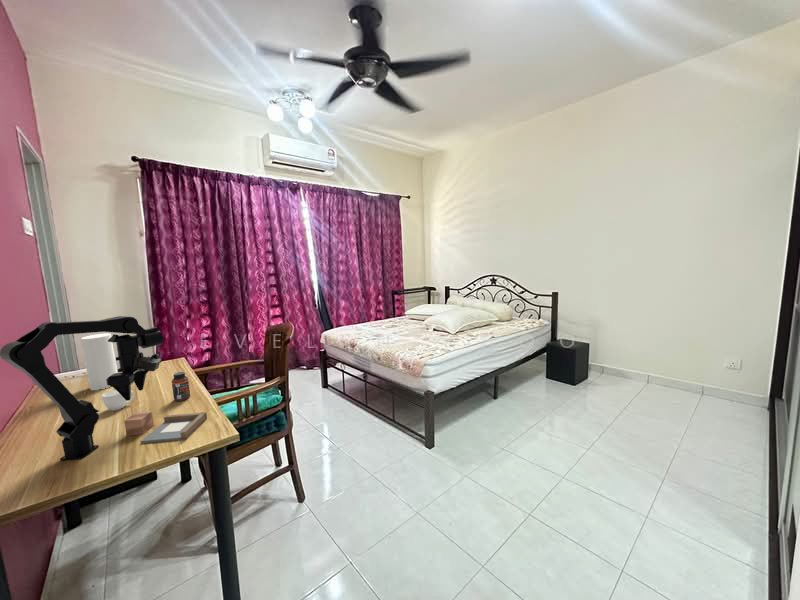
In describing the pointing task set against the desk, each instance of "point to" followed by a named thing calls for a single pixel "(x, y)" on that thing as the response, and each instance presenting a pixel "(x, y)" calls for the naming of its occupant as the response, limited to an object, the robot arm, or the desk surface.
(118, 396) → the cup
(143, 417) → the cube
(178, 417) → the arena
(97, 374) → the tall pillar cylinder
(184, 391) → the supplement bottle
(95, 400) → the desk surface
